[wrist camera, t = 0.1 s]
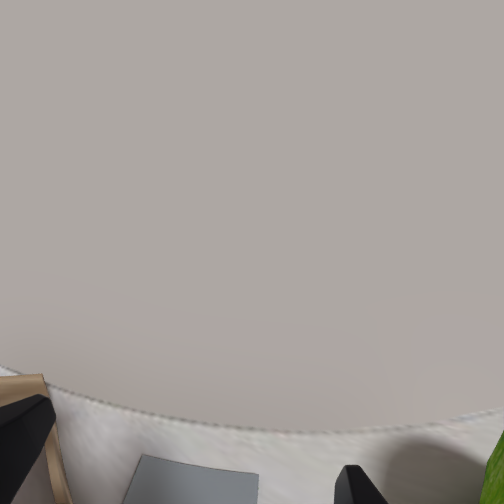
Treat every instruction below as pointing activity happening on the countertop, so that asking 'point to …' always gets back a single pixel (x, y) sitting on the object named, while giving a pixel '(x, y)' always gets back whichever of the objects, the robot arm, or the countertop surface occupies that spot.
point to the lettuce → (494, 476)
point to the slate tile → (189, 484)
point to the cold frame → (28, 385)
